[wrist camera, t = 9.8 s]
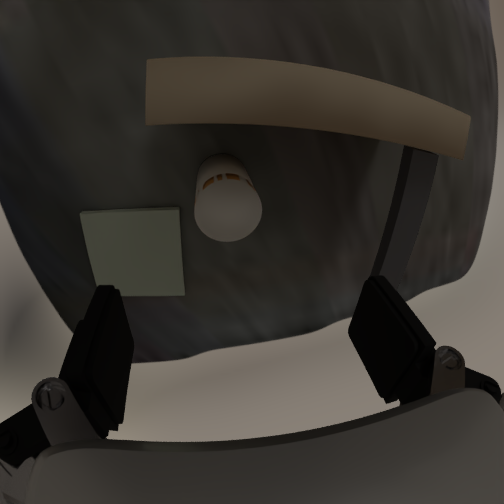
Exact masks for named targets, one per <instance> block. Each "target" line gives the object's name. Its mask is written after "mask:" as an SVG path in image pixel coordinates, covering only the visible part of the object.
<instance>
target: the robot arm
mask: <svg viewBox="0 0 504 504" xmlns="http://www.w3.org/2000/svg"><path fill="white" fill-rule="evenodd" d="M348 334H349V337H350V339H351V341H352V343H353V345H354V347H355V348H356V350H357V352H358V354H359V356H360V358H361V360H362V362H363V364H364V366H365V368H366V370H367V372H368V374H369V376H370V378H371V380H372V382H373V384H374V386H375V388H376V390H377V392H378V394H379V396H380V397H381V398H384V400H385V403H386V404H387V403H391V402H394V401H397V400H398V399H399V401H400V406H398V407H395V408H392V409H389V410H386V411H383V412H380V413H376V414H373V415H370V416H366V417H363V418H359V419H355V420H351V421H347V422H344V423H340V424H335V425H331V426H326V427H322V428H317V429H312V430H307V431H301V432H296V433H289V434H283V435H276V436H268V437H260V438H251V439H242V440H228V441H210V442H149V441H133V440H112V439H107V438H106V437H107V436H108V432H109V430H113V431H118V426H119V424H122V423H123V420H124V412H125V403H126V395H127V388H128V381H129V375H130V369H131V363H132V357H133V351H134V341H133V337H132V334H131V330H130V327H129V324H128V320H127V316H126V313H125V309H124V305H123V301H122V297H121V293H120V290H119V289H115V287H114V285H98V287H97V289H96V291H95V293H94V296H93V298H92V300H91V303H90V305H89V307H88V310H87V312H86V315H85V317H84V320H80V321H79V323H78V324H77V327H76V329H75V332H74V334H73V337H72V340H71V342H70V345H69V348H68V350H67V353H66V356H65V359H64V362H63V365H62V368H61V371H60V374H59V377H58V378H55V377H50V378H46V379H43V380H42V381H40V382H39V383H38V384H37V385H36V386H35V388H34V390H33V392H32V398H31V400H32V404H30V405H29V406H27V407H26V408H24V409H23V410H21V411H19V412H18V413H16V414H15V415H13V416H11V417H10V418H8V419H7V420H5V421H3V422H2V423H0V504H504V393H502V395H501V389H500V387H499V385H498V383H497V382H496V381H495V380H494V379H492V378H491V377H489V376H486V375H484V374H481V373H479V372H476V371H474V370H471V369H469V368H466V367H465V361H464V358H463V356H462V355H461V353H460V352H459V351H457V350H456V349H455V348H453V347H450V346H441V347H439V348H438V349H437V350H435V348H434V346H435V345H436V342H435V340H434V339H433V338H432V336H431V335H430V334H429V332H428V331H427V330H426V328H425V327H424V325H423V324H422V323H421V322H420V320H419V319H418V318H417V316H416V315H415V314H414V312H413V311H412V310H411V309H410V307H409V306H408V305H407V303H406V302H405V301H404V300H403V298H402V297H401V296H400V295H399V293H398V292H397V291H396V290H395V288H394V287H393V286H392V285H391V284H390V282H389V281H388V280H387V279H386V278H385V277H384V276H382V275H379V276H370V277H369V278H368V280H366V281H365V283H364V285H363V288H362V291H361V294H360V297H359V300H358V303H357V306H356V309H355V312H354V315H353V317H352V320H351V323H350V326H349V329H348Z"/></svg>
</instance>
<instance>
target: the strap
mask: <svg viewBox="0 0 504 504" xmlns="http://www.w3.org/2000/svg"><path fill="white" fill-rule="evenodd" d="M438 157H439V155H436V154H434V153H432V152H430V151H426V150H422V149H418V148H414V147H409V146H405V145H404V149H403V154H402V159H401V164H400V169H399V173H398V178H397V183H396V187H395V191H394V195H393V199H392V203H391V207H390V211H389V215H388V219H387V222H386V226H385V230H384V233H383V237H382V240H381V243H380V247H379V250H378V253H377V256H376V259H375V263H374V266H373V269H372V272H371V275H370V276H379V275H382V276H384V277H385V278H386V279H387V280H388V281H389V282H390V284H391V285H392V286H393V287H394V288H395V290H396V291H397V289H398V286H399V284H400V281H401V279H402V276H403V274H404V271H405V268H406V266H407V263H408V260H409V258H410V255H411V252H412V249H413V246H414V244H415V241H416V238H417V235H418V232H419V228H420V225H421V222H422V219H423V215H424V212H425V209H426V205H427V202H428V198H429V194H430V191H431V187H432V183H433V179H434V175H435V170H436V166H437V161H438Z"/></svg>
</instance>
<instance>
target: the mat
mask: <svg viewBox="0 0 504 504" xmlns="http://www.w3.org/2000/svg"><path fill="white" fill-rule="evenodd" d="M80 218H81V223H82V228H83V233H84V238H85V242H86V246H87V251H88V255H89V259H90V263H91V267H92V270H93V274H94V278H95V281H96V285H97V287H98V285H114V287H115V289H119V290H120V293H121V296H185V284H184V273H183V260H182V245H181V228H180V207H160V208H134V209H114V210H97V211H82V212H81V213H80Z"/></svg>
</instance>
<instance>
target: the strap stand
mask: <svg viewBox="0 0 504 504" xmlns="http://www.w3.org/2000/svg"><path fill="white" fill-rule="evenodd" d="M145 117H146V126H147V125H163V124H193V123H224V124H254V125H271V126H284V127H295V128H305V129H314V130H323V131H330V132H337V133H344V134H351V135H357V136H363V137H368V138H374V139H379V140H384V141H389V142H394V143H399V144H403V145H408V146H412V147H416V148H420V149H424V150H428V151H432V152H436V153H439V154H443V155H446V156H450V157H453V158H457V159H460V160H463V158H464V153H465V148H466V143H467V138H468V132H469V126H470V120H471V116H469V115H467V114H464V113H462V112H460V111H458V110H456V109H454V108H451V107H449V106H447V105H444V104H442V103H440V102H437V101H435V100H432V99H430V98H427V97H424V96H422V95H419V94H416V93H414V92H411V91H408V90H405V89H402V88H399V87H396V86H393V85H390V84H386V83H383V82H380V81H376V80H373V79H369V78H365V77H361V76H357V75H353V74H349V73H345V72H340V71H336V70H331V69H326V68H321V67H315V66H310V65H304V64H297V63H290V62H282V61H274V60H264V59H252V58H237V57H173V58H157V59H147V69H146V110H145Z"/></svg>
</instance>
